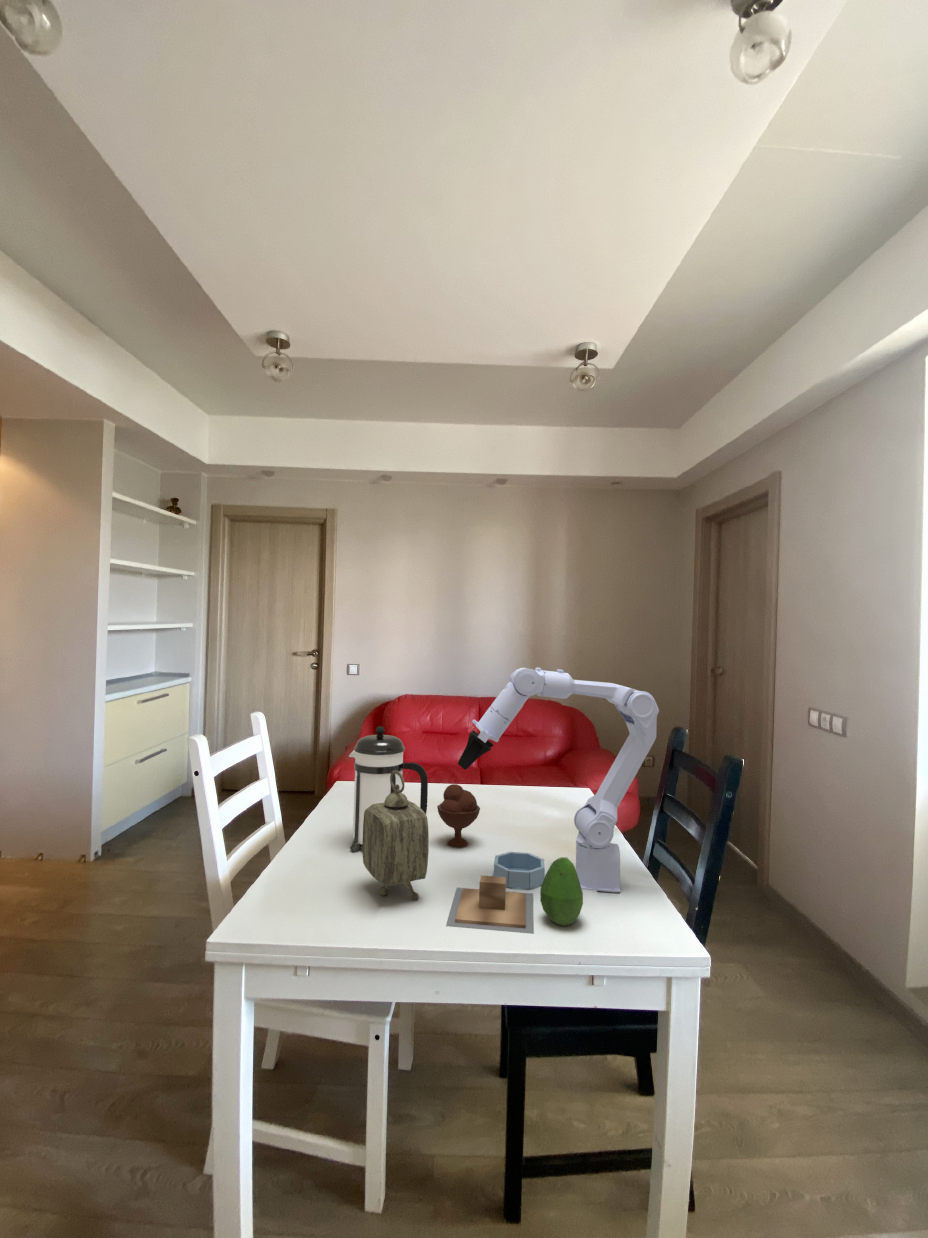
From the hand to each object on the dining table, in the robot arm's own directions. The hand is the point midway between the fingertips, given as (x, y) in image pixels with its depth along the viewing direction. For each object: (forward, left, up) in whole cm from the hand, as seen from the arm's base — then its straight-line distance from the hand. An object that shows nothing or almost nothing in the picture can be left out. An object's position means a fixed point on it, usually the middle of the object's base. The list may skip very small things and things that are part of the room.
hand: (462, 764), depth 122 cm
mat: (-8, +11, -25) cm, 29 cm away
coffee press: (+22, -19, -26) cm, 39 cm away
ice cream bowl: (+3, -23, -26) cm, 35 cm away
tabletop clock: (+13, +7, -26) cm, 30 cm away
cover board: (-8, +11, -25) cm, 28 cm away
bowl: (-13, -4, -25) cm, 29 cm away
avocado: (-21, +13, -26) cm, 36 cm away
